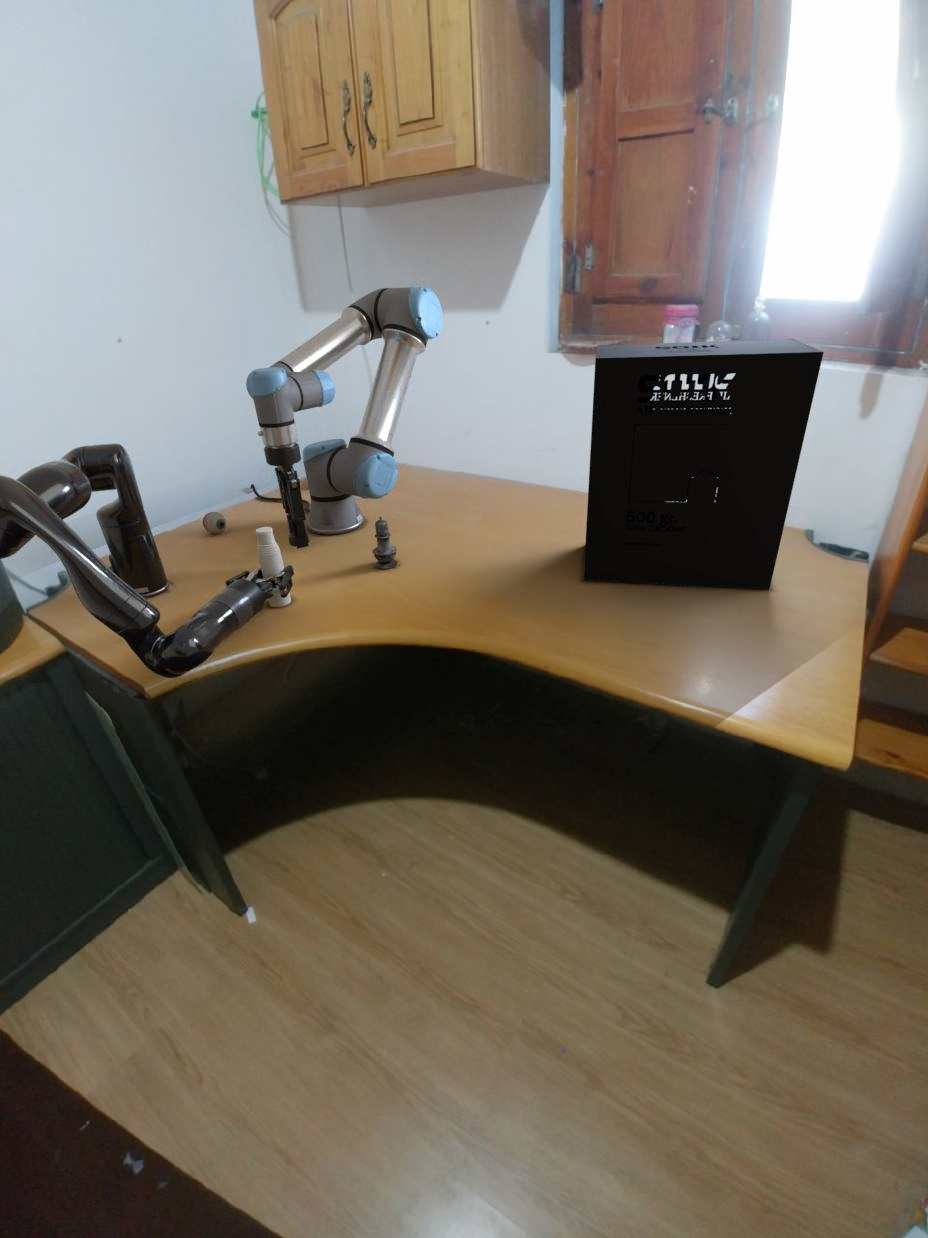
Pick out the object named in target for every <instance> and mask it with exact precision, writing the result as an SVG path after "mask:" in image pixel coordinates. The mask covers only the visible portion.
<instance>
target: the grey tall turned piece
mask: <svg viewBox="0 0 928 1238" xmlns="http://www.w3.org/2000/svg"><path fill="white" fill-rule="evenodd" d="M388 525H389V524H388V521H387V520H385V519H383V517H382V516H379V518H378V520H377V521H375V523H374V527H375V535H374V538H375V539H376V547H374V548H373V549H372V551H371V553H372V554H373V557H374V558H375V559H376V560H377V561H376V562H375V564H374V565H375V567H376V568H377V569H380V570H381V569H382V570H386V569H393V568H394V567H396V566H397V565H398V561H397V560H396V559H395V558H396V555H397V550H398V548H397V547H396V546H394V545H392V544H391V539H390V537H391V533H390V532H389V526H388Z"/></svg>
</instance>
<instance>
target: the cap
mask: <svg viewBox="0 0 928 1238" xmlns="http://www.w3.org/2000/svg"><path fill="white" fill-rule="evenodd" d="M306 534H307V539H308V544H309V543H310V538H309V534H308V532H307V531H306ZM287 536H288V542H289V545H290V546H291V547H296V542H295V537H294V532H293V533H290V532H289V534H288V535H287ZM296 548H297V547H296Z"/></svg>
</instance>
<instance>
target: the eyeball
mask: <svg viewBox="0 0 928 1238" xmlns="http://www.w3.org/2000/svg"><path fill="white" fill-rule="evenodd" d="M202 526H203V528H204V530H206V531H207V532H208V533H209V534H214V535H215V534H220V533H223V531H224V530H225V529H226V527H227V519H226V518H225V516H224V515H223V514H222V513H220V512H218V511H210V512H208V513H206V514H205V515H204V516H203V519H202Z"/></svg>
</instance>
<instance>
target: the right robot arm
mask: <svg viewBox="0 0 928 1238" xmlns="http://www.w3.org/2000/svg"><path fill="white" fill-rule="evenodd" d="M443 322H444V316H443V309H442V305H441V302H440V299H439V298H438V296H437V295H436V292H434V291H433V290H432V289H431V288H428V287H426V286H417V285H413V286H409V287H408V286H407V287H382V288H378V289H374V290H373V291H370V292H369V293H367V294H365V295H364V296H362V297H360V298H359V299H357V300H356V301H354V302H352V303H351V304H350V305H348V306H347V307H345V308H344V309H343V310H342V311H341V313H340V317H339V318H337V319H336V320H334V321H333V322H332V323H330V324H329V325H328V326H326V327H324V328H323V329H322V330H320V331H319V332H318V333H316V334H315V335H313V336H312V337H311V338H309V339H308V340H306V341H305V342H303V343H302V344H300V345H299V346H298V347H296V348H295V349H294V350H292V351H290V352H289V353H288V354H286V355H285V356H283V357H282V358H281V359H279V360H278V361H276V362H275V363H273V364H272V365H271V366H268V367H262V368H261V367H260V368H256V369H253V370H251V371H250V372H249V374H248V375H247V377H246V382H245V386H246V391H247V393H248V395H249V397H250V398H251V399H252V400H253V404H254V408H255V413H256V417H257V422H258V427H259V430H260V431H257V436H259V437H261V441H262V444H263V445H264V448H263V453H264V456H265V461H266V464H267V465H269V466H273V467H274V472H275V476H276V479H277V483H278V490H279V493H280V497H268V496H267V497H266V496H263V495H261V494H260V493H259V492H258V491H257V489H256V486H255V484H254V483H252V484H251V485H250V489H252V492H253V494H255V496H256V497H257V498H258V499H260V500H264V501H269V502H271V501H272V502H281V504H282V509H283V510H284V512H285V514H286V515H285V516H286V519H287V521H286V522H287V525H288V530H289V531H288V532H289V534H290V533H293V532H294V537H295V542H296V549H297V550H298V549H303V548H308V547H309V546H310V545H309V543H308V539H307V534H306V532H307V530H306V524H305V521H306V520H307V517H306V513H305V511H306V512H307V513H308V528H309V529H308V530H310V531H311V532H312V533H314V534H317V535H323V536H324V535H325V536H327V535H329V536H331V535H339V534H340V535H341V534H345V533H350V532H353V531H355V530H357V529H359V528H361V527H362V526H363V525H364V523H365V519H364V514H363V512H362V510H361V508H360V505H359V504H358V501H357V500H356V498H355V497H359V498H361V499H367V500H368V499H372V500H378V499H383V497H386V496H387V495H388V494H390V493H391V491H392V490H394V488H395V485H396V483H397V481H398V475H399V469H397V468H398V463H397V461H396V459H395V458H394V456H395V450H394V448H393V447H392V441H393V439H394V435H395V431H396V429H397V425H398V422H399V418H400V414H401V411H402V408H403V404H404V401H405V397H406V394H407V391H408V388H409V385H410V381H411V379H412V375H413V371H414V369H415V368H414V367H415V364H416V361H417V357H418V356H419V355H421V354H423V353H425V351H426V348H427V346H428V342H429V340H434V339H435V338H436V337H438V336H439V335H440V333H441V331H442V329H443V328H442V327H443ZM377 339H382V340H383V342H384V345H383V348H382V351H381V354H380V358H379V361H378V364H377V368H376V372H375V375H374V379H373V382H372V385H371V389H370V391H369V392H370V393H369V396H368V399H367V403H366V406H365V409H364V411H363V415H362V419H361V423H360V426H359V429H358V433H356V434H354V435H352V436H350V438H349V442H348V443H346V440H345V439H344V438H333V439H326V440H322V441H321V440H320V441H317V442H313V443H309V444H308V445H306V446H304V448H303V449H302V456H301V450H300V445H299V444H298V443H297V442H298V441H299V439H298V438H299V437H298V432H297V425H296V422H295V415H294V413H297V412H301V411H305V410H310V409H314V408H322V407H324V406H326V405H329V404H331V403H332V402H333V400H334V399H335V397H336V387H335V381H334V379H333V378H332V376H331V375H330V374H329V373H328V372H327V371H325V370H327V369H328V368H329V367H330V366H332V365H333V364H335V363H336V362H338V361H339V360H340V359H342V357H344V356H345V355H347V354H348V353H349V352H351V351H352V350H353V349H355V348H356V347H358V346H365V345H368V344H369V343H370V342H371V341H374V340H377ZM301 460H303V461H302V463H303V467H304V472H305V477H306V482H307V486H308V492H309V498H310V501H308V500H306V499H303V496H302V490H301V480H300V478H299V476H298V471H297V470H296V469H294V464H297V463H299V462H301ZM304 504H306V505H305V508H304Z"/></svg>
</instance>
